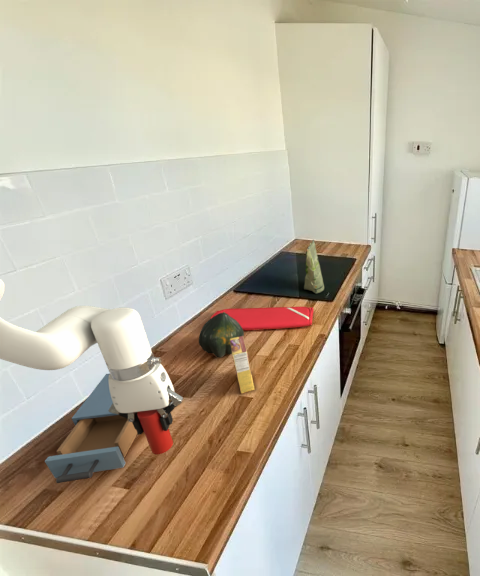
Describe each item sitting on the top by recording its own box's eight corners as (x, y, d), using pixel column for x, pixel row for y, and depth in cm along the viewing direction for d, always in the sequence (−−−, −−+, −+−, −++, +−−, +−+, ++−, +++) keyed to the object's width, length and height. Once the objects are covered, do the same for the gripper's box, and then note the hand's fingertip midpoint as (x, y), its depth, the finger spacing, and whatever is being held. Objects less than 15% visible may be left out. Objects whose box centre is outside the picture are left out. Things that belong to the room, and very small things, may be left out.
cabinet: (146, 430, 86) (138, 410, 83) (82, 439, 83) (71, 418, 80) (168, 387, 101) (162, 368, 98) (114, 393, 97) (106, 373, 94)
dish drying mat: (217, 313, 141) (216, 306, 140) (313, 310, 147) (313, 303, 145) (205, 333, 127) (203, 325, 126) (311, 330, 133) (311, 322, 132)
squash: (193, 356, 106) (220, 319, 107) (188, 335, 117) (213, 301, 118) (232, 369, 115) (257, 334, 116) (224, 348, 127) (247, 317, 127)
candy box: (236, 376, 107) (229, 338, 100) (250, 373, 108) (244, 334, 102) (239, 394, 100) (232, 354, 93) (254, 390, 101) (248, 350, 95)
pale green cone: (310, 296, 160) (307, 248, 149) (298, 288, 167) (294, 241, 156) (329, 290, 167) (328, 244, 156) (316, 282, 174) (314, 237, 163)
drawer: (114, 484, 72) (106, 467, 70) (42, 497, 69) (30, 479, 67) (149, 416, 90) (144, 400, 87) (93, 423, 87) (85, 407, 84)
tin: (148, 456, 75) (133, 418, 70) (155, 440, 79) (141, 403, 74) (169, 452, 76) (156, 415, 71) (175, 437, 80) (163, 401, 75)
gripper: (183, 350, 72) (199, 410, 80) (94, 358, 68) (121, 420, 76) (171, 372, 66) (191, 435, 74) (73, 382, 62) (104, 448, 70)
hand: (155, 427), depth 75 cm, fingers closed on tin, 4 cm apart
